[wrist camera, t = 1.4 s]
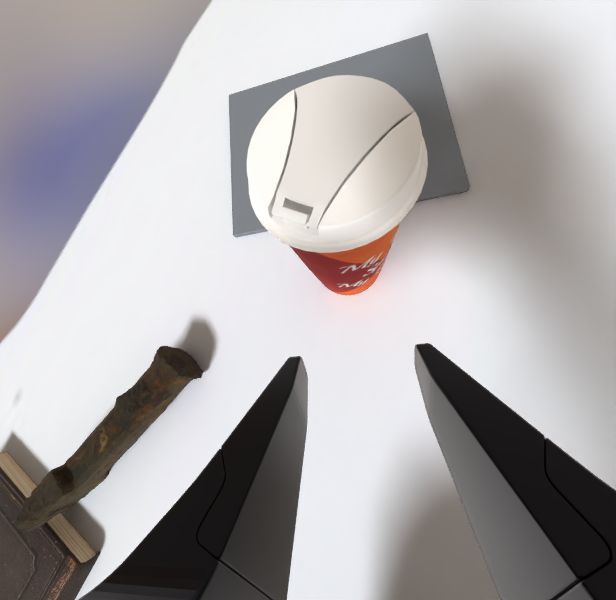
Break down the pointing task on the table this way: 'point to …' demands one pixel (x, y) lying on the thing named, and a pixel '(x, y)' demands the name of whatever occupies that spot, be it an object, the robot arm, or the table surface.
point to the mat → (374, 64)
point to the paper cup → (337, 175)
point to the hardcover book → (37, 547)
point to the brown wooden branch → (110, 438)
